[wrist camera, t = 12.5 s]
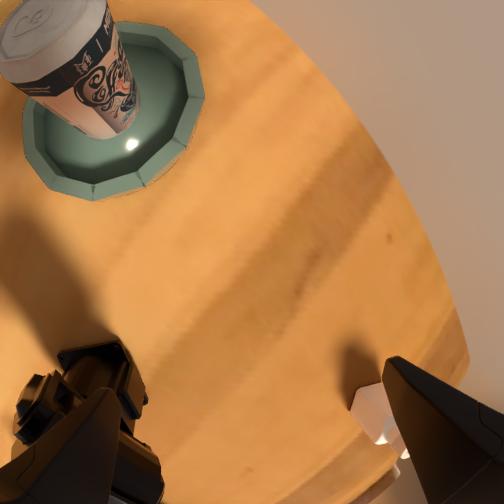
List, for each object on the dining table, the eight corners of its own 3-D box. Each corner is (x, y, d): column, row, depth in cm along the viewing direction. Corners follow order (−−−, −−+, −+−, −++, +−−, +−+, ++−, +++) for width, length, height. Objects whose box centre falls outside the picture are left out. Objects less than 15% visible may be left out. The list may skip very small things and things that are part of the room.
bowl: (51, 219, 17) (34, 222, 14) (38, 73, 14) (25, 60, 12) (215, 172, 19) (219, 167, 17) (186, 26, 17) (187, 7, 14)
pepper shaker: (355, 386, 26) (407, 440, 17) (383, 379, 27) (436, 425, 18) (346, 414, 27) (391, 467, 18) (374, 405, 28) (420, 452, 18)
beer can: (142, 135, 17) (89, 46, 5) (78, 147, 16) (-26, 94, 4) (141, 74, 16) (111, -42, 5) (80, 87, 15) (5, -1, 4)
